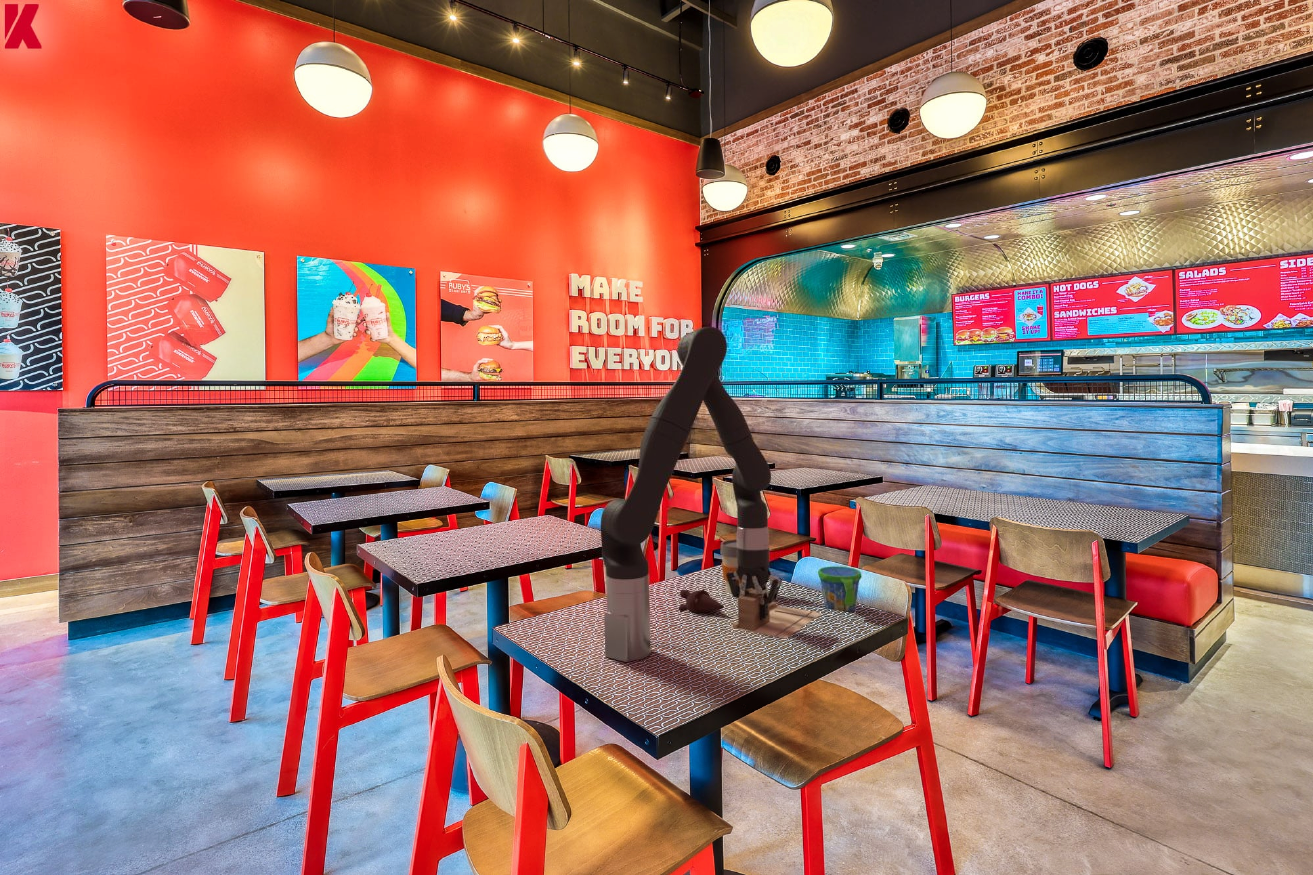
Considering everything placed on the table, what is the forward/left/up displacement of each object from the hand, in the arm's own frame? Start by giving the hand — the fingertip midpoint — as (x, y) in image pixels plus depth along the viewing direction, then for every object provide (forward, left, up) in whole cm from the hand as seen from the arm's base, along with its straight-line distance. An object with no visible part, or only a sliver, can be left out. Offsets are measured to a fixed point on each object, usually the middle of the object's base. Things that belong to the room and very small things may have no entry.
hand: (754, 617), depth 149 cm
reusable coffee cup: (+24, +16, -3) cm, 29 cm away
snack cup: (+26, -11, -3) cm, 28 cm away
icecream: (+3, +17, -4) cm, 17 cm away
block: (0, 0, -2) cm, 2 cm away
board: (+6, -3, -3) cm, 7 cm away
